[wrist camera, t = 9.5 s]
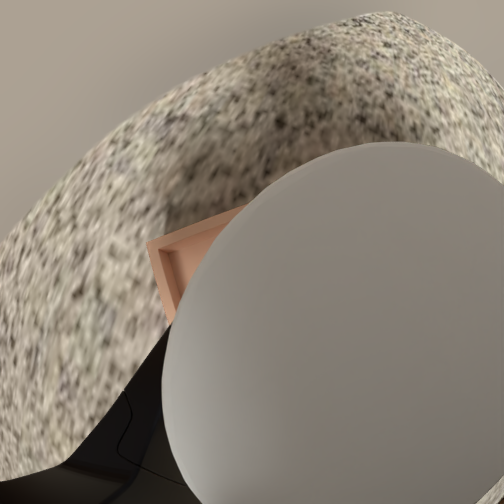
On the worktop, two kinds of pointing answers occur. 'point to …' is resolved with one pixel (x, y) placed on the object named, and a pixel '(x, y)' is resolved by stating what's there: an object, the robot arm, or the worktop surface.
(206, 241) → the tray
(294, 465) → the supplement bottle
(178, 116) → the worktop surface
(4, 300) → the worktop surface
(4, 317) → the worktop surface
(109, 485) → the robot arm
